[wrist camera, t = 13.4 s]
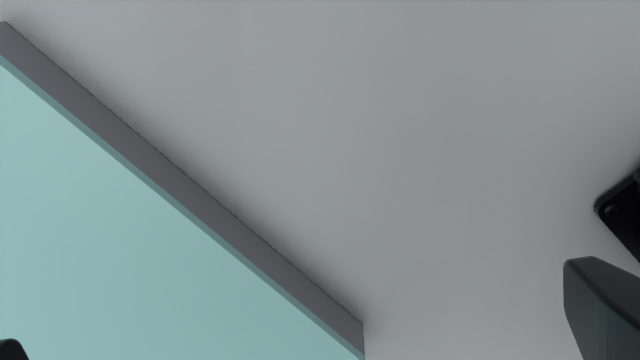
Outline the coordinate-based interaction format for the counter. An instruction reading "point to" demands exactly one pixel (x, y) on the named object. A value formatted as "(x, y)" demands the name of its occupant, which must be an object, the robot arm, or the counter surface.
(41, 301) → the teal gray square board
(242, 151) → the counter surface
